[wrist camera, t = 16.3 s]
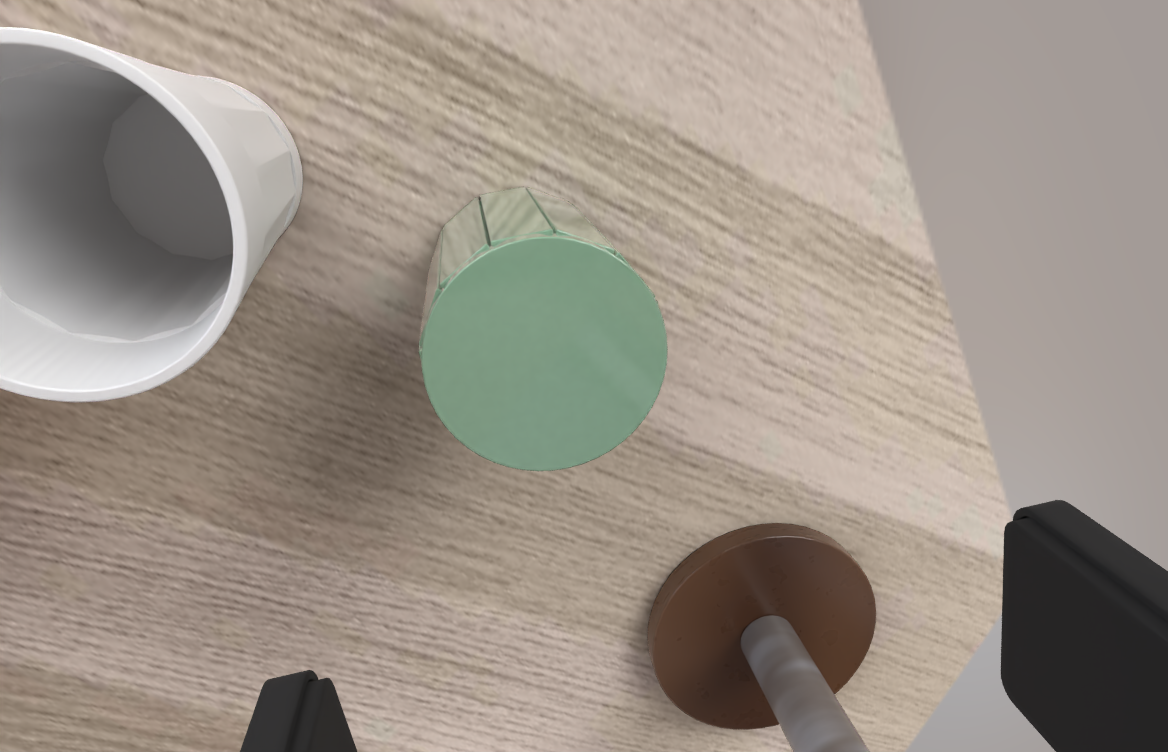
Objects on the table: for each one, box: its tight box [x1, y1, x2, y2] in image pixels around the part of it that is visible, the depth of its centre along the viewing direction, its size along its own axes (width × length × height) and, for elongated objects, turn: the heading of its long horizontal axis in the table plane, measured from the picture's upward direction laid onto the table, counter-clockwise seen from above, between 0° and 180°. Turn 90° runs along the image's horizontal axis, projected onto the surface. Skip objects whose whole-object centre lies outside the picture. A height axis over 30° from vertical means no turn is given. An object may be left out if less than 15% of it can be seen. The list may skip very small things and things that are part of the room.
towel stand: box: [647, 523, 876, 752], centre depth 31 cm, size 11×11×16 cm
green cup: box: [419, 187, 668, 471], centre depth 27 cm, size 7×7×10 cm
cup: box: [0, 27, 303, 402], centre depth 23 cm, size 8×8×12 cm
